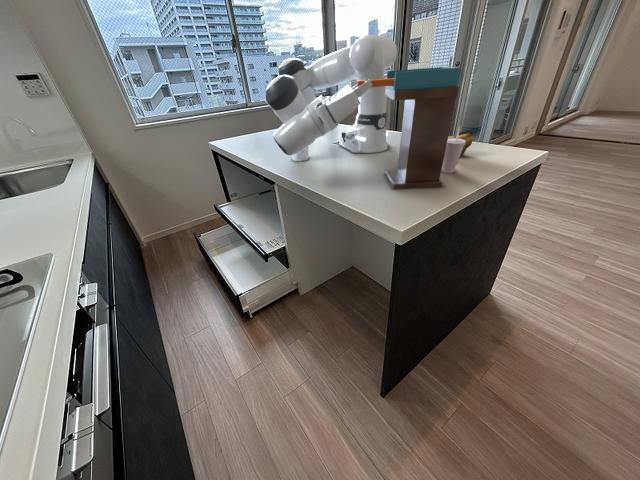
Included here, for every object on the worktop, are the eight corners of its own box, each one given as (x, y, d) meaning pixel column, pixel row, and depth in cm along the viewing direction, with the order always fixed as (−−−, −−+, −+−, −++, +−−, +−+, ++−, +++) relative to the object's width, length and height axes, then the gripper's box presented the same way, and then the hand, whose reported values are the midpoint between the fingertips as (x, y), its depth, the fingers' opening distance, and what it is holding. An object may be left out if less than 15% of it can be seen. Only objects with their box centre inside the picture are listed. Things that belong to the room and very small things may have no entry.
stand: (386, 190, 77) (395, 91, 63) (379, 174, 88) (385, 87, 73) (441, 187, 76) (463, 86, 62) (427, 172, 87) (443, 82, 72)
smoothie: (460, 174, 83) (472, 127, 75) (439, 174, 84) (448, 128, 77) (456, 167, 88) (466, 123, 80) (435, 167, 90) (444, 123, 82)
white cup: (305, 162, 103) (303, 135, 98) (287, 161, 106) (284, 135, 100) (312, 156, 110) (310, 131, 104) (295, 155, 112) (292, 131, 106)
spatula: (358, 88, 66) (358, 81, 65) (356, 86, 71) (356, 80, 70) (439, 83, 64) (440, 75, 64) (431, 81, 69) (432, 74, 69)
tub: (394, 90, 64) (395, 72, 61) (385, 87, 73) (387, 71, 70) (457, 86, 63) (461, 67, 60) (441, 83, 72) (443, 66, 70)
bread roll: (443, 161, 94) (447, 138, 89) (425, 155, 102) (429, 133, 97) (471, 156, 97) (477, 133, 93) (452, 149, 105) (457, 128, 100)
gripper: (330, 117, 82) (370, 89, 77) (331, 132, 65) (382, 97, 60) (319, 98, 79) (360, 68, 74) (317, 108, 62) (369, 70, 58)
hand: (370, 81), depth 67 cm, fingers closed on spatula, 3 cm apart
